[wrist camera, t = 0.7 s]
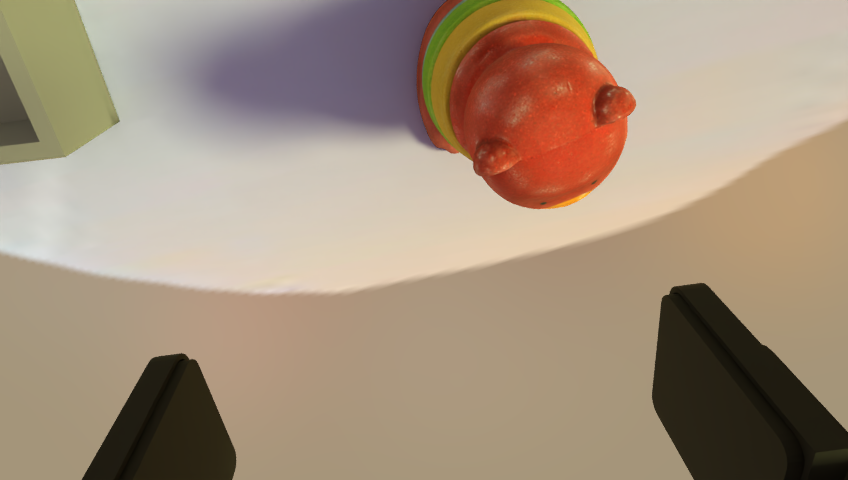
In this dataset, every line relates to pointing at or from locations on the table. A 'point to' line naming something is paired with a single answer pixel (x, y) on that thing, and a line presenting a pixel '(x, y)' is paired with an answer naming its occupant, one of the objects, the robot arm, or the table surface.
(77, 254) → the table surface
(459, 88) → the stacking bear
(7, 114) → the big crate
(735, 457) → the robot arm
